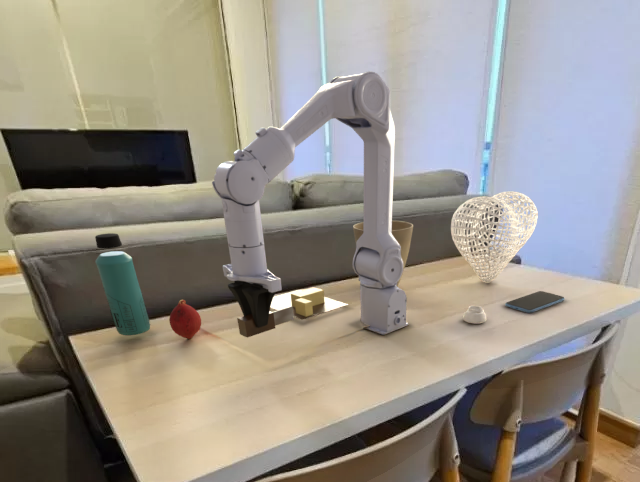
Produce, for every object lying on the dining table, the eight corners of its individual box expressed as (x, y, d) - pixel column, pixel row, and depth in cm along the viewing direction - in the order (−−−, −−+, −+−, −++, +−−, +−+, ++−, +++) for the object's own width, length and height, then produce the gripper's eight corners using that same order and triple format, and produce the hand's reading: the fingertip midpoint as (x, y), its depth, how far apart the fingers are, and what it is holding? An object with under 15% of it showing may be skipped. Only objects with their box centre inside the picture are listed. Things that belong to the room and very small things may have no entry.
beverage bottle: (160, 332, 96) (134, 231, 86) (136, 344, 90) (106, 238, 80) (135, 329, 98) (107, 229, 87) (110, 340, 92) (77, 236, 82)
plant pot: (375, 278, 131) (375, 218, 123) (421, 286, 123) (424, 223, 115) (342, 291, 120) (340, 226, 112) (390, 301, 113) (391, 232, 105)
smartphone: (503, 302, 108) (539, 290, 117) (503, 306, 109) (539, 293, 117) (530, 310, 103) (566, 296, 112) (530, 314, 104) (566, 300, 112)
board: (349, 308, 108) (348, 304, 108) (302, 324, 100) (301, 319, 99) (301, 293, 119) (300, 289, 119) (255, 305, 111) (254, 301, 110)
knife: (247, 337, 80) (244, 321, 79) (239, 334, 82) (236, 318, 80) (297, 320, 87) (295, 305, 85) (289, 317, 88) (287, 302, 87)
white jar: (470, 315, 104) (458, 321, 101) (472, 302, 102) (459, 308, 99) (490, 320, 101) (478, 326, 98) (492, 307, 99) (479, 313, 96)
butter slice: (313, 314, 102) (312, 301, 100) (306, 316, 101) (304, 303, 99) (302, 310, 104) (301, 297, 103) (295, 313, 103) (294, 299, 101)
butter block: (324, 302, 109) (323, 290, 108) (301, 309, 105) (300, 296, 103) (314, 299, 111) (314, 287, 110) (291, 306, 107) (290, 293, 105)
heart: (486, 268, 140) (496, 187, 128) (535, 276, 131) (551, 191, 120) (435, 288, 122) (441, 197, 110) (488, 300, 113) (500, 202, 101)
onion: (194, 345, 90) (186, 305, 86) (168, 343, 91) (158, 304, 87) (209, 334, 95) (202, 296, 91) (184, 332, 96) (175, 294, 92)
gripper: (201, 241, 77) (215, 319, 84) (250, 255, 68) (261, 340, 75) (238, 235, 81) (249, 310, 88) (288, 247, 73) (296, 329, 79)
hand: (257, 323), depth 82 cm, fingers closed on knife, 2 cm apart
